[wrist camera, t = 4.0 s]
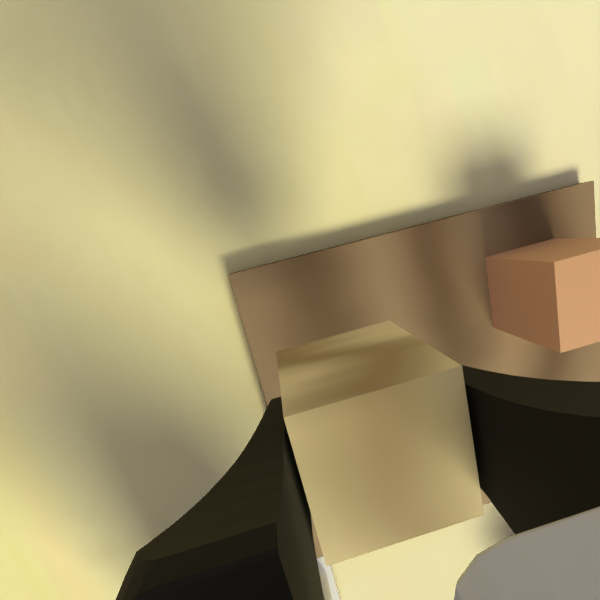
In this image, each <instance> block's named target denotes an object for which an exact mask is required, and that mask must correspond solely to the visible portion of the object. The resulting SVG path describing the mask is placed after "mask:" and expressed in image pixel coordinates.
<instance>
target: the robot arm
mask: <svg viewBox="0 0 600 600" xmlns="http://www.w3.org/2000/svg"><path fill="white" fill-rule="evenodd" d="M462 369H463V376H464V382H465V389H466V396H467V403H468V409H469V416H470V423H471V430H472V437H473V443H474V450H475V457H476V464H477V470H478V477H479V484H480V488H481V489H482V490H483V492H484V493H485V494H486V495H487V497H488V498H489V499H490V501H491V502H492V503H493V505H494V506H495V507H496V509H497V510H498V511H499V513H500V514H501V515H502V517H503V518H504V519H505V521H506V522H507V523H508V525H509V526H510V528H511V529H512V530H513V532H514V533H515V535H513V536H510V537H507V538H504V539H503V540H501V541H499V542H498V543H496V544H494V545H492V546H491V547H489V548H487V549H486V550H484V551H482V552H480V553H479V554H477V555H476V556H475V557H474V559H473V560H472V562H471V563H470V564H469V566H468V567H467V568H466V570H465V571H464V572H463V574H462V575H461V577H460V578H459V579H458V581H457V585H456V590H455V597H454V600H600V382H585V381H565V380H549V379H538V378H530V377H522V376H514V375H508V374H502V373H497V372H492V371H486V370H482V369H477V368H472V367H468V366H464V365H462ZM116 600H341V599H340V596H339V592H338V589H337V585H336V582H335V578H334V575H333V571H332V568H331V565H328V566H326V563H325V560H324V557H320V558H316V552H315V546H314V539H313V531H312V521H311V511H310V508H309V504H308V501H307V498H306V494H305V491H304V487H303V484H302V480H301V477H300V473H299V470H298V466H297V463H296V459H295V456H294V452H293V449H292V445H291V442H290V439H289V435H288V432H287V428H286V425H285V421H284V418H283V409H282V400H281V397H277V398H274V399H271V401H270V402H269V404H268V406H267V409H266V411H265V413H264V415H263V417H262V419H261V421H260V423H259V425H258V427H257V429H256V431H255V432H254V434H253V436H252V438H251V439H250V441H249V443H248V444H247V446H246V447H245V449H244V451H243V452H242V453H241V455H240V456H239V458H238V459H237V460H236V462H235V463H234V464H233V465H232V467H231V468H230V469H229V470H228V472H227V473H226V474H225V475H224V476H223V477H222V478H221V479H220V480H219V481H218V483H217V484H216V485H215V486H214V487H213V488H212V489H211V490H210V491H209V492H208V493H207V494H206V495H205V496H204V497H203V498H202V499H201V500H200V501H199V502H198V503H197V504H196V505H195V506H194V507H193V508H191V509H190V510H189V511H188V512H187V513H186V514H185V515H183V516H182V517H181V518H180V519H179V520H178V521H176V522H175V523H174V524H173V525H172V526H170V527H169V528H168V529H166V530H165V531H164V532H162V533H161V534H160V535H158V536H157V537H156V538H155V539H153V540H152V541H151V542H149V543H148V544H147V545H145V546H144V547H143V548H141V549H140V550H138V551H137V552H136V554H135V556H134V558H133V561H132V563H131V565H130V567H129V569H128V571H127V573H126V576H125V578H124V581H123V583H122V586H121V588H120V591H119V593H118V596H117V598H116Z"/></svg>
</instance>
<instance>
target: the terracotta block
mask: <svg viewBox="0 0 600 600" xmlns="http://www.w3.org/2000/svg"><path fill="white" fill-rule="evenodd" d="M485 261H486V270H487V278H488V286H489V295H490V303H491V311H492V320H493V328H496V329H498V330H501V331H504V332H506V333H509V334H512V335H514V336H517V337H520V338H522V339H525V340H527V341H530V342H533V343H535V344H538V345H541V346H543V347H546V348H549V349H551V350H554V351H557V352H559V353H562V352H566V351H569V350H573V349H576V348H579V347H583V346H586V345H590V344H593V343H596V342H600V238H554V239H550V240H547V241H543V242H539V243H535V244H532V245H528V246H524V247H521V248H517V249H513V250H509V251H506V252H502V253H498V254H495V255H491V256H487V257H485Z"/></svg>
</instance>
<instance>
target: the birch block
mask: <svg viewBox="0 0 600 600" xmlns="http://www.w3.org/2000/svg"><path fill="white" fill-rule="evenodd" d="M276 355H277V364H278V373H279V382H280V391H281V400H282V409H283V418H284V421H285V425H286V428H287V432H288V435H289V439H290V442H291V445H292V449H293V452H294V456H295V459H296V463H297V466H298V470H299V473H300V477H301V480H302V484H303V487H304V491H305V494H306V498H307V501H308V504H309V508H310V511H311V515H312V518H313V522H314V525H315V529H316V532H317V536H318V539H319V543H320V546H321V550H322V553H323V557H324V560H325V563H326V566H328V565H331V564H334V563H338V562H341V561H344V560H347V559H350V558H353V557H356V556H359V555H362V554H365V553H368V552H371V551H374V550H377V549H380V548H384V547H387V546H390V545H393V544H396V543H399V542H402V541H405V540H408V539H411V538H414V537H417V536H420V535H423V534H426V533H429V532H433V531H436V530H439V529H442V528H445V527H448V526H451V525H454V524H457V523H460V522H463V521H466V520H469V519H472V518H475V517H479V516H482V515H484V511H483V504H482V497H481V491H480V484H479V477H478V470H477V464H476V457H475V450H474V443H473V437H472V430H471V423H470V416H469V409H468V403H467V396H466V389H465V382H464V376H463V369H462V365H460V364H459V363H457V362H455V361H454V360H452V359H451V358H449V357H447V356H446V355H444V354H443V353H441V352H439V351H438V350H436V349H435V348H433V347H431V346H430V345H428V344H427V343H425V342H423V341H422V340H420V339H419V338H417V337H415V336H414V335H412V334H410V333H409V332H407V331H406V330H404V329H402V328H401V327H399V326H398V325H396V324H394V323H393V322H391V321H390V320H389V321H385V322H381V323H378V324H374V325H371V326H367V327H363V328H360V329H356V330H353V331H349V332H345V333H342V334H338V335H335V336H331V337H327V338H324V339H320V340H317V341H313V342H309V343H306V344H302V345H298V346H295V347H291V348H288V349H284V350H280V351H277V352H276Z"/></svg>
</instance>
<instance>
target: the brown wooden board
mask: <svg viewBox="0 0 600 600" xmlns="http://www.w3.org/2000/svg"><path fill="white" fill-rule="evenodd" d="M554 238H596V225H595V202H594V181H590V182H584V183H579V184H575V185H571V186H568V187H564V188H560V189H556V190H552V191H548V192H544V193H540V194H537V195H533V196H529V197H525V198H521V199H517V200H513V201H510V202H506V203H502V204H498V205H494V206H490V207H486V208H482V209H479V210H475V211H471V212H467V213H463V214H459V215H455V216H451V217H448V218H444V219H440V220H436V221H432V222H428V223H424V224H421V225H417V226H413V227H409V228H405V229H401V230H397V231H393V232H390V233H386V234H382V235H378V236H374V237H370V238H366V239H362V240H359V241H355V242H351V243H347V244H343V245H339V246H335V247H332V248H328V249H324V250H320V251H316V252H312V253H308V254H304V255H301V256H297V257H293V258H289V259H285V260H281V261H277V262H273V263H270V264H266V265H262V266H258V267H254V268H250V269H246V270H242V271H239V272H235V273H231V274H229V275H228V276H229V280H230V283H231V286H232V290H233V293H234V296H235V300H236V303H237V306H238V310H239V313H240V316H241V320H242V323H243V326H244V330H245V333H246V337H247V340H248V343H249V347H250V350H251V353H252V357H253V360H254V363H255V367H256V370H257V373H258V377H259V380H260V383H261V387H262V390H263V393H264V397H265V400H266V403H267V406H268V404H269V402H270V401H271V399H274V398H277V397H281V391H280V382H279V373H278V364H277V355H276V352H277V351H280V350H284V349H288V348H291V347H295V346H298V345H302V344H306V343H309V342H313V341H317V340H320V339H324V338H327V337H331V336H335V335H338V334H342V333H345V332H349V331H353V330H356V329H360V328H363V327H367V326H371V325H374V324H378V323H381V322H385V321H389V320H390V321H391V322H393V323H394V324H396V325H398V326H399V327H401V328H402V329H404V330H406V331H407V332H409V333H410V334H412V335H414V336H415V337H417V338H419V339H420V340H422V341H423V342H425V343H427V344H428V345H430V346H431V347H433V348H435V349H436V350H438V351H439V352H441V353H443V354H444V355H446V356H447V357H449V358H451V359H452V360H454V361H455V362H457V363H459V364H460V365H464V366H468V367H472V368H477V369H482V370H486V371H492V372H497V373H502V374H508V375H514V376H522V377H530V378H538V379H549V380H565V381H585V382H600V342H596V343H593V344H590V345H586V346H583V347H579V348H576V349H573V350H569V351H566V352H562V353H559V352H557V351H554V350H551V349H549V348H546V347H543V346H541V345H538V344H535V343H533V342H530V341H527V340H525V339H522V338H520V337H517V336H514V335H512V334H509V333H506V332H504V331H501V330H498V329H496V328H493V320H492V311H491V303H490V295H489V286H488V278H487V270H486V261H485V257H487V256H491V255H495V254H498V253H502V252H506V251H509V250H513V249H517V248H521V247H524V246H528V245H532V244H535V243H539V242H543V241H547V240H550V239H554ZM480 491H481V497H482V504H483V505H484V504H487V503H490V502H491V501H490V499H489V498H488V497H487V495H486V494H485V493H484V492H483V490H482V489H481V488H480ZM311 521H312V531H313V539H314V546H315V552H316V558H320V557H323V553H322V550H321V546H320V543H319V539H318V536H317V532H316V529H315V525H314V522H313V518H312V515H311Z"/></svg>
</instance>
